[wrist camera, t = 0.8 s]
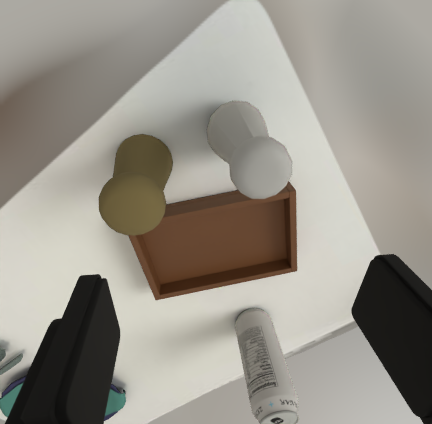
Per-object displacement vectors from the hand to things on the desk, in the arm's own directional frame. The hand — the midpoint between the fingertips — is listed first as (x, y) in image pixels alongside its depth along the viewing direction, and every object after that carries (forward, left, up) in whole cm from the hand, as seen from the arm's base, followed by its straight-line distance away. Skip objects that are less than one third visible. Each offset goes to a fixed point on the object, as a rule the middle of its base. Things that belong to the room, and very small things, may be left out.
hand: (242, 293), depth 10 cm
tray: (+1, +15, -23) cm, 27 cm away
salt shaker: (-3, +1, -23) cm, 23 cm away
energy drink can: (-2, +33, -23) cm, 40 cm away
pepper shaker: (+7, +3, -23) cm, 24 cm away
